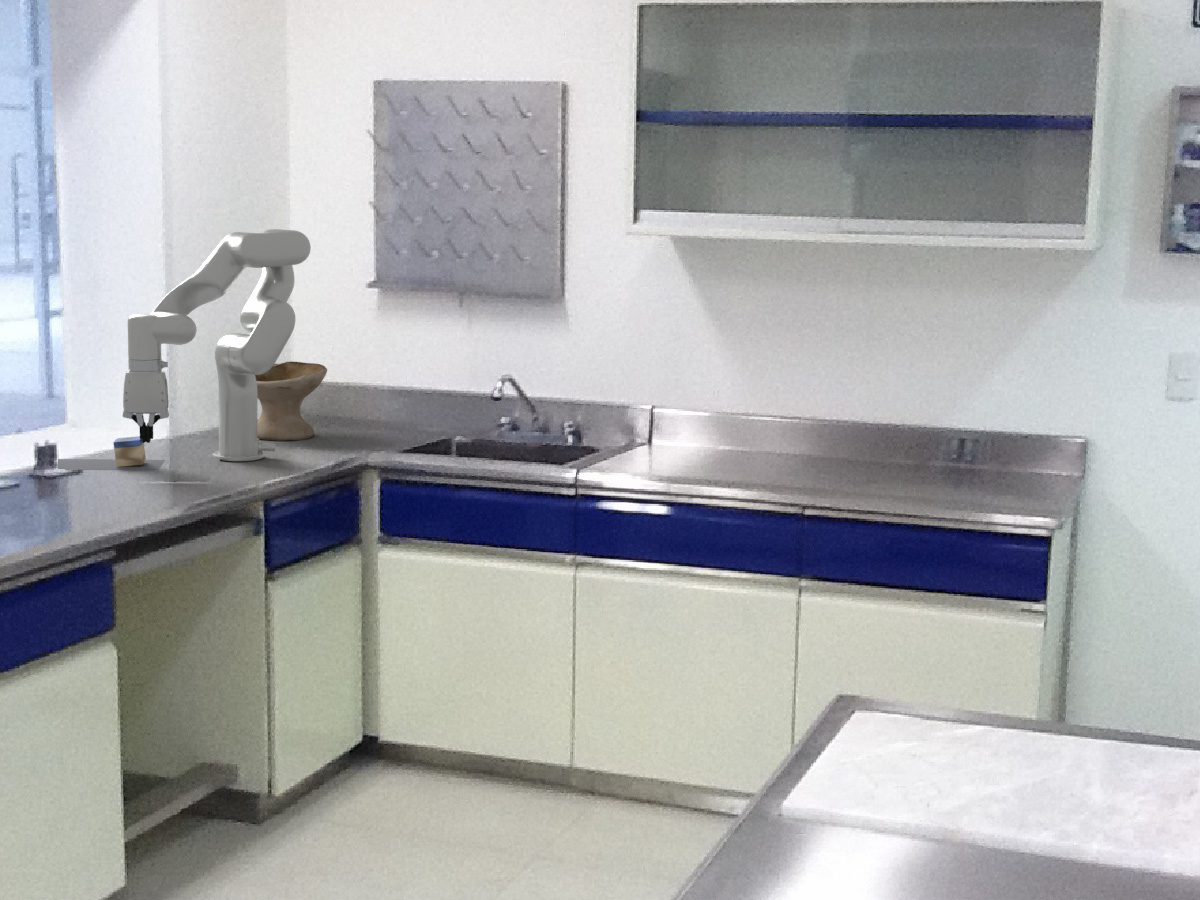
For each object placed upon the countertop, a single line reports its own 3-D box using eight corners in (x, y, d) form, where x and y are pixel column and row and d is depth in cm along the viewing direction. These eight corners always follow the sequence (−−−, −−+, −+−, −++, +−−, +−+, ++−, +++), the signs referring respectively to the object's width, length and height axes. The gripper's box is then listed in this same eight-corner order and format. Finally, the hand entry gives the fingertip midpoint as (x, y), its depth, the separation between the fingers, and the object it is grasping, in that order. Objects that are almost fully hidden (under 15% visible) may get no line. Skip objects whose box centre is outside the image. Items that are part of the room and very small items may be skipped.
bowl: (226, 430, 396) (226, 360, 392) (314, 428, 406) (314, 360, 403) (244, 444, 373) (244, 371, 370) (336, 442, 383) (336, 370, 380)
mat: (165, 461, 343) (165, 459, 343) (157, 472, 329) (157, 470, 329) (54, 460, 338) (54, 458, 338) (42, 471, 325) (42, 469, 325)
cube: (145, 460, 338) (143, 436, 337) (142, 464, 332) (139, 440, 331) (120, 462, 337) (117, 438, 336) (116, 466, 331) (113, 442, 330)
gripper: (179, 364, 337) (180, 439, 340) (114, 364, 334) (116, 439, 337) (175, 368, 329) (177, 444, 332) (110, 367, 326) (111, 444, 329)
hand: (146, 441), depth 335 cm, fingers closed
